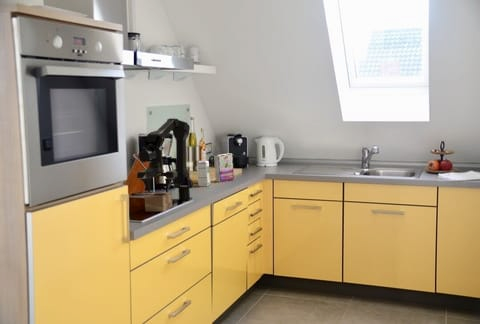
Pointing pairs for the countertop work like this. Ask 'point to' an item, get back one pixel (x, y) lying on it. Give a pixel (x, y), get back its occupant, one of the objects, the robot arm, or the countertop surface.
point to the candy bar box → (224, 167)
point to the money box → (158, 202)
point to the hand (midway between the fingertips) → (158, 192)
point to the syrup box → (203, 173)
